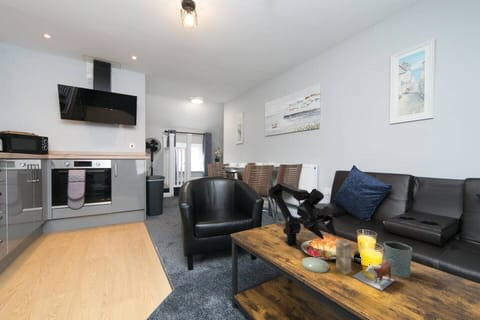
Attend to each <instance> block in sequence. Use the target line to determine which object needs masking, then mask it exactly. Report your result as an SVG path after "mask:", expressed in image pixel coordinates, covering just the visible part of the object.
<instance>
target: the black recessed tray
mask: <svg viewBox="0 0 480 320" xmlns="http://www.w3.org/2000/svg"><path fill="white" fill-rule="evenodd" d="M360 253H361V252H357V251H355V252H354V254H353V257H352V256H351V264H352V263H353V264H356V265H359V266H362V265H361V257H360Z"/></svg>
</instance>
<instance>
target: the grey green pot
mask: <svg viewBox="0 0 480 320" xmlns="http://www.w3.org/2000/svg"><path fill="white" fill-rule="evenodd" d="M383 249H384V260H385V262H388V264H390V266H391V272H390V273H391V276H392V275H393V276H395V277H399V278H401V279H402V278H403V279H407V278H410V277H411V273H412V270H411V265H412V257H413V255H412V254H413V248H412V246H409V245H407V244H404V243H401V242H398V241H397V242H396V241H384V242H383Z"/></svg>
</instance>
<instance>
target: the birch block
mask: <svg viewBox="0 0 480 320" xmlns="http://www.w3.org/2000/svg"><path fill="white" fill-rule="evenodd" d="M351 257H352V243H351V242H349V241H347V240H343V239H339V240H337V241H335V270H336V271H337V272H339V273H341V274H343V275H347V274H350V273H351V272H352V262H351Z"/></svg>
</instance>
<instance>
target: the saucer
mask: <svg viewBox="0 0 480 320" xmlns="http://www.w3.org/2000/svg"><path fill="white" fill-rule="evenodd" d="M301 265H302V267H303V268H304V269H305V270H307V271H309V272H311V273H317V274H323V273H324V274H325V273H326V272H328V271H330V270H329V269H330V268H329V267H330V266H329V264H328V262H326V261H325V260H323V259H322V258H320V257H319V258H318V257H311V256H310V257H304V258H302V260H301Z"/></svg>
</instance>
